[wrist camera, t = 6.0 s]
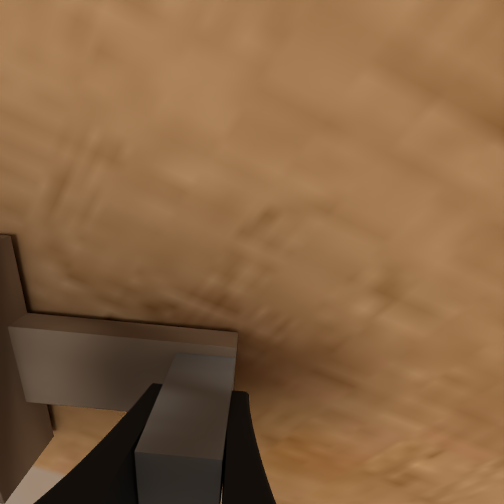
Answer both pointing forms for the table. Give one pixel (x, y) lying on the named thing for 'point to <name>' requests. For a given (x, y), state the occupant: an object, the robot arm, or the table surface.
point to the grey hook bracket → (115, 391)
